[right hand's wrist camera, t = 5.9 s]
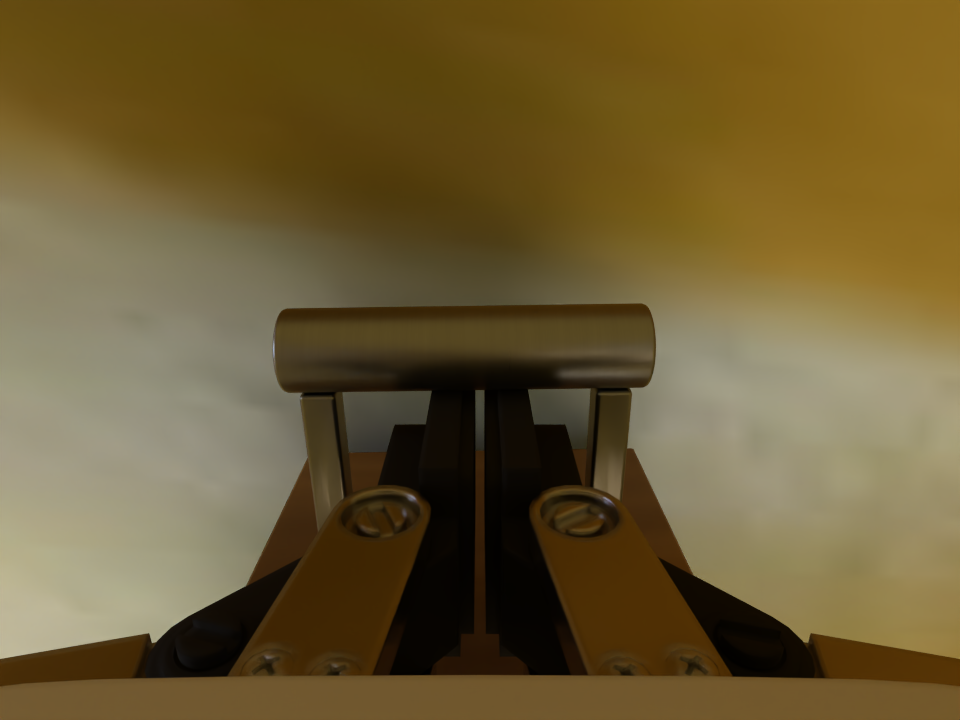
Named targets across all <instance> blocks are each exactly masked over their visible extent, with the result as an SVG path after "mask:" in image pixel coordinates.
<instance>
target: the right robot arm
mask: <svg viewBox="0 0 960 720" xmlns="http://www.w3.org/2000/svg"><path fill="white" fill-rule="evenodd" d="M475 510H476V450H475V390H444V391H432V393H431V399H430V405H429V410H428V416H427V421H426V424H396V425H395V426H394V428H393V432H392V435H391V439H390V442H389V446H388V450H387V453H386V457H385V460H384V464H383V467H382V471H381V474H380V478H379V482H378V485H377V486H373V487H368V488H364V489H361V490H358V491H356V492H353V493H351V494H349V495H348V496H346V497H345V498H343V499H341V500H340V501H339V502H338V504H337V505H336V506H335V507H334V508H333V509H332V511H331V513H330V514H329V516H328V517H327V519H326V520H325V522H324V524H323V525H322V527H321V528H320V530H319V532H318V533H317V535H316V536H315V538H314V539H313V541H312V543H311V544H310V546H309V547H308V549H307V551H306V552H305V554H304V555H303V557H301V558H299V559H297V560H295V561H293V562H291V563H289V564H287V565H285V566H284V567H282V568H280V569H278V570H276V571H274V572H272V573H270V574H268V575H266V576H265V577H263V578H261V579H259V580H257V581H255V582H253V583H251V584H249V585H247V586H245V587H244V588H242V589H240V590H238V591H236V592H234V593H232V594H230V595H228V596H226V597H224V598H223V599H221V600H219V601H217V602H215V603H213V604H211V605H209V606H207V607H205V608H204V609H202V610H200V611H198V612H196V613H194V614H192V615H190V616H188V617H187V618H185V619H184V620H182V621H181V622H179V623H177V624H176V625H174V626H173V627H171V628H170V629H169V630H168V631H167V632H166V633H165V634H164V635H163V636H162V637H161V638H160V639H159V640H158V641H157V642H155V643H152V642H151V639H150V635H149V633H148V634H142V635H136V636H130V637H125V638H119V639H113V640H107V641H102V642H96V643H90V644H84V645H79V646H73V647H67V648H61V649H56V650H50V651H44V652H38V653H33V654H27V655H21V656H15V657H10V658H4V659H0V720H960V659H956V658H950V657H945V656H939V655H933V654H927V653H922V652H916V651H910V650H904V649H899V648H893V647H887V646H881V645H875V644H870V643H864V642H858V641H852V640H847V639H841V638H835V637H829V636H824V635H818V634H812V633H811V634H810V638H809V642H808V643H805V642H803V641H802V640H801V639H800V638H799V637H798V636H797V635H796V634H795V633H794V632H793V631H792V630H791V629H790V628H789V627H787V626H786V625H784V624H782V623H781V622H779V621H778V620H776V619H775V618H773V617H772V616H770V615H768V614H766V613H764V612H762V611H760V610H758V609H756V608H754V607H753V606H751V605H749V604H747V603H745V602H743V601H741V600H739V599H737V598H735V597H733V596H732V595H730V594H728V593H726V592H724V591H722V590H720V589H718V588H716V587H714V586H713V585H711V584H709V583H707V582H705V581H703V580H701V579H699V578H697V577H695V576H693V575H692V574H690V573H688V572H686V571H684V570H682V569H680V568H678V567H676V566H674V565H672V564H671V563H669V562H667V561H665V560H663V559H661V558H659V557H657V555H656V554H655V552H654V551H653V549H652V547H651V546H650V544H649V543H648V541H647V539H646V538H645V536H644V535H643V533H642V532H641V530H640V528H639V527H638V525H637V524H636V522H635V520H634V519H633V517H632V516H631V514H630V513H629V511H628V509H627V508H626V507H625V506H624V505H623V504H622V502H621V501H620V500H619V499H617V498H615V497H614V496H612V495H611V494H609V493H607V492H604V491H602V490H599V489H596V488H592V487H587V486H582V482H581V478H580V475H579V471H578V468H577V464H576V461H575V457H574V454H573V450H572V447H571V443H570V439H569V436H568V432H567V429H566V426H565V425H534V422H533V417H532V411H531V405H530V400H529V394H528V389H512V390H485V402H484V523H485V611H486V634H499V656H500V657H517V658H518V659H520V660H521V661H522V662H523V663H524V666H523V675H437V666H436V662H438V661H439V660H440V659H441V658H443V657H460V653H461V634H474V600H475Z"/></svg>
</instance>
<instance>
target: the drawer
mask: <svg viewBox="0 0 960 720" xmlns="http://www.w3.org/2000/svg"><path fill="white" fill-rule="evenodd" d="M655 356H656V337H655V328H654V322H653V318H652V315H651V312H650V310H649V308H648V307H647V306H646V305H644V304H574V305H503V306H433V307H362V308H291V309H285V310H283V311H281V313H280V314H279V316H278V318H277V321H276V324H275V329H274V335H273V362H274V369H275V373H276V377H277V380H278V383H279V385H280V387H281V388H282V390H284V391H285V392H288V393H302V395H301V397H300V403H301V410H302V418H303V425H304V432H305V440H306V447H307V454H308V458H307V460H306V462H305V465H304V467H303V469H302V471H301V473H300V475H299V477H298V479H297V481H296V483H295V485H294V487H293V490H292V492H291V494H290V496H289V498H288V500H287V502H286V504H285V506H284V508H283V510H282V512H281V514H280V517H279V519H278V521H277V523H276V525H275V527H274V529H273V531H272V533H271V535H270V537H269V539H268V542H267V544H266V546H265V548H264V550H263V552H262V554H261V556H260V558H259V560H258V562H257V564H256V567H255V569H254V571H253V573H252V575H251V577H250V579H249V581H248V583H247V585H249V584H251V583H253V582H255V581H257V580H259V579H261V578H263V577H265V576H266V575H268V574H270V573H272V572H274V571H276V570H278V569H280V568H282V567H284V566H285V565H287V564H289V563H291V562H293V561H295V560H297V559H299V558H301V557H303V555H304V554H305V552H306V551H307V549H308V547H309V546H310V544H311V543H312V541H313V539H314V538H315V536H316V535H317V533H318V532H319V530H320V528H321V527H322V525H323V524H324V522H325V520H326V519H327V517H328V516H329V514H330V513H331V511H332V509H333V508H334V507H335V506H336V505H337V504H338V502H339V501H340V500H341V499H343V498H345V497H346V496H348V495H349V494H351V493H353V492H356V491H358V490H361V489H364V488H368V487H373V486H377V485H378V482H379V478H380V474H381V471H382V467H383V464H384V460H385V457H386V453H387V452H360V453H349V450H348V441H347V432H346V422H345V413H344V404H343V394H342V392H377V391H444V390H512V389H579V388H591V391H590V407H589V423H588V439H587V449H572V450H573V454H574V457H575V461H576V464H577V468H578V471H579V475H580V478H581V482H582V486H587V487H592V488H596V489H599V490H602V491H604V492H607V493H609V494H611V495H612V496H614V497H615V498H617V499H619V500H620V501H621V502H622V504H623V505H624V506H625V507H626V508H627V509H628V511H629V513H630V514H631V516H632V517H633V519H634V520H635V522H636V524H637V525H638V527H639V528H640V530H641V532H642V533H643V535H644V536H645V538H646V539H647V541H648V543H649V544H650V546H651V547H652V549H653V551H654V552H655V554H656V555H657V557H659V558H661V559H663V560H665V561H667V562H669V563H671V564H672V565H674V566H676V567H678V568H680V569H682V570H684V571H686V572H688V573H690V574H692V575H693V573H692V571H691V569H690V567H689V565H688V563H687V561H686V559H685V557H684V555H683V552H682V550H681V548H680V546H679V544H678V542H677V540H676V538H675V536H674V534H673V531H672V529H671V527H670V525H669V523H668V521H667V519H666V517H665V515H664V512H663V510H662V508H661V506H660V504H659V502H658V500H657V498H656V496H655V494H654V491H653V489H652V487H651V485H650V483H649V481H648V479H647V477H646V475H645V473H644V470H643V468H642V466H641V464H640V462H639V460H638V458H637V456H636V454H635V452H634V449H631V448H627V443H628V432H629V421H630V410H631V399H632V392H631V390H630V388H642V387H645V386H647V385H648V384H649V382H650V380H651V378H652V374H653V370H654V365H655ZM247 585H246V586H247ZM436 666H437V675H523V666H524V663H523V662H522V661H521V660H520V659H518V658H517V657H500V656H499V634H486V611H485V523H484V451H476V510H475V600H474V634H461V653H460V657H443V658H441V659H440V660H439V661H438V662H436Z"/></svg>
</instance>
